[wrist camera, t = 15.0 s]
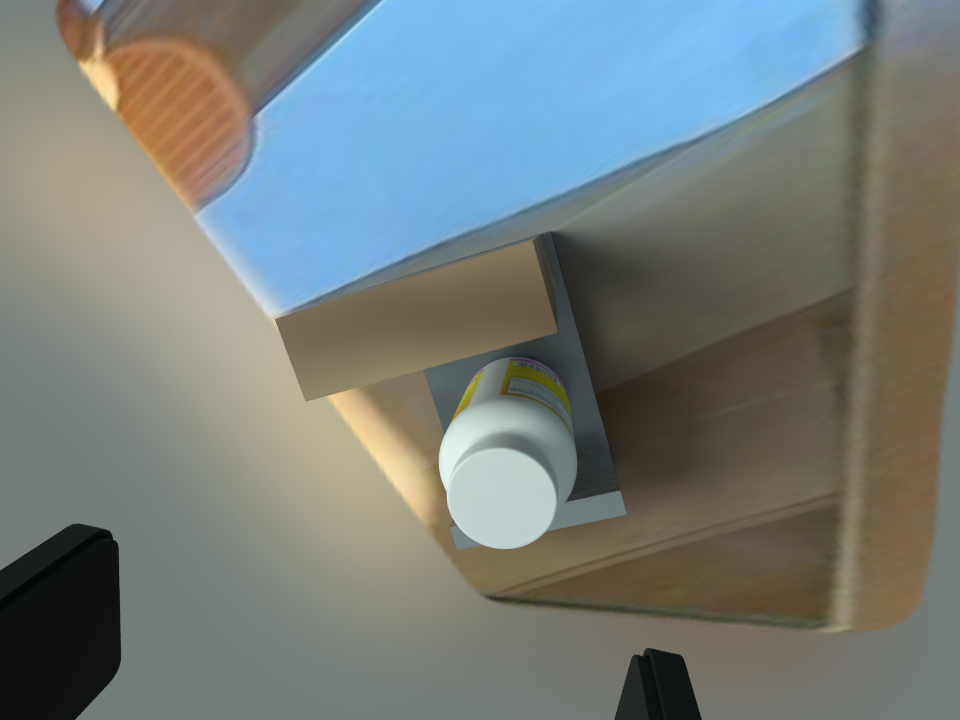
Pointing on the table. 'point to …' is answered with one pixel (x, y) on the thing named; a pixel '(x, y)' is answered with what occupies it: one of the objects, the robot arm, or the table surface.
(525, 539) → the supplement bottle
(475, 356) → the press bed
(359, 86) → the table surface
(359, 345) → the brown wooden block
